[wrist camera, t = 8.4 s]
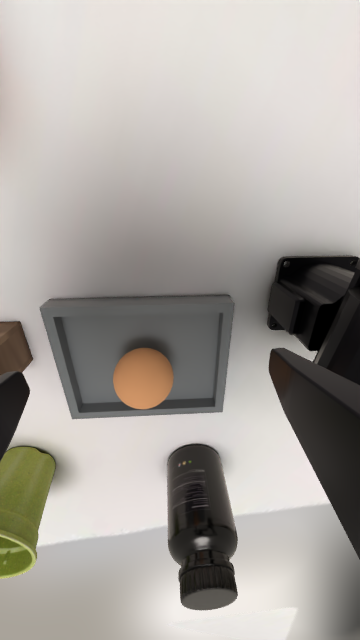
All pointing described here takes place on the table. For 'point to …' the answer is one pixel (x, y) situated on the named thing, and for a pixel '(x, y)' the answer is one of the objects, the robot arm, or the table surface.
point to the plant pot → (22, 506)
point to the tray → (140, 332)
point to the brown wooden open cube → (13, 348)
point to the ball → (143, 378)
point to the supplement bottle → (201, 528)
